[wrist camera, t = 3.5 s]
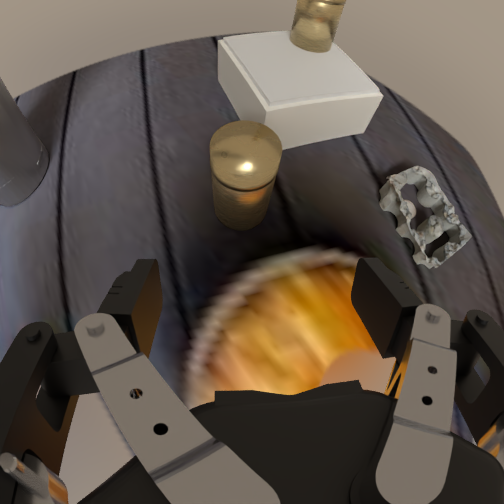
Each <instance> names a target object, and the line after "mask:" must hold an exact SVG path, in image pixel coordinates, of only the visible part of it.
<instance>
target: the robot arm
mask: <svg viewBox="0 0 504 504" xmlns="http://www.w3.org/2000/svg"><path fill="white" fill-rule="evenodd" d="M48 161H49V156H48V152H47V150H46V148H45V147H44V145H43V144H42V142H41V140H40V139H39V138H38V137H37V135H36V134H35V132H34V131H33V129H32V128H31V126H30V125H29V123H28V121H27V120H26V118H25V117H24V115H23V114H22V112H21V111H20V109H19V107H18V106H17V104H16V103H15V101H14V99H13V98H12V96H11V95H10V93H9V91H8V90H7V88H6V86H5V84H4V83H3V81H2V79H1V78H0V205H3V206H13V205H16V204H18V203H20V202H22V201H23V200H25V199H26V198H27V197H28V196H29V195H30V194H31V193H32V192H33V191H34V190H35V189H36V188H37V186H38V185H39V183H40V182H41V180H42V179H43V177H44V175H45V172H46V170H47V166H48ZM351 300H352V304H353V306H354V308H355V310H356V312H357V313H358V315H359V317H360V318H361V320H362V322H363V324H364V325H365V327H366V329H367V331H368V332H369V334H370V336H371V338H372V340H373V341H374V343H375V345H376V347H377V349H378V350H379V352H380V354H381V356H382V358H383V359H384V358H389V357H395V358H396V361H395V363H394V365H393V368H392V371H391V374H390V377H389V380H388V383H387V386H386V389H385V392H384V394H383V393H380V392H375V391H370V390H363V389H362V387H361V385H360V383H359V380H354V381H347V382H340V383H333V384H326V385H323V386H320V387H317V388H314V389H311V390H308V391H305V392H302V393H299V394H295V395H283V394H275V393H268V392H261V391H254V390H243V391H215V401H214V402H209V403H206V404H203V405H199V406H197V407H195V408H192V409H190V410H188V409H187V408H186V406H185V405H184V404H183V403H182V402H181V401H180V399H179V398H178V397H177V396H176V394H175V393H174V392H173V391H172V390H171V388H170V387H169V386H168V385H167V383H166V382H165V381H164V379H163V378H162V377H161V376H160V374H159V373H158V372H157V370H156V369H155V368H154V366H153V365H152V364H151V362H150V361H149V360H148V358H149V354H150V350H151V346H152V343H153V339H154V335H155V331H156V328H157V324H158V321H159V317H160V313H161V310H162V301H163V299H162V289H161V282H160V275H159V267H158V262H157V260H156V259H138V260H137V261H136V263H135V265H134V266H133V268H132V270H131V272H124V273H123V274H121V275H120V276H119V277H117V278H116V280H115V281H114V283H113V285H112V288H110V290H109V292H108V294H107V295H106V297H105V299H104V301H103V302H102V304H101V306H100V308H99V310H98V311H97V313H96V314H91V315H88V316H86V317H84V318H83V319H81V320H80V321H79V322H78V323H77V324H76V326H75V330H74V331H72V332H66V333H59V334H54V333H53V330H52V328H51V326H50V325H49V324H48V323H45V322H34V323H31V324H29V325H27V326H25V327H24V328H22V329H21V330H20V332H19V333H18V334H17V336H16V338H15V339H14V341H13V343H12V344H11V346H10V348H9V349H8V351H7V353H6V354H5V356H4V358H3V360H2V361H1V363H0V504H68V492H67V488H66V486H65V484H64V482H63V481H62V480H61V479H60V478H59V472H60V467H61V463H62V458H63V453H64V449H65V444H66V441H67V437H68V433H69V429H70V425H71V422H72V418H73V415H74V411H75V408H76V404H77V401H78V398H79V395H82V394H89V393H97V392H101V394H102V396H103V398H104V400H105V402H106V404H107V406H108V408H109V410H110V412H111V414H112V415H113V417H114V419H115V421H116V423H117V424H118V426H119V428H120V430H121V431H122V433H123V435H124V436H125V438H126V440H127V441H128V443H129V445H130V446H131V448H132V449H133V451H134V453H135V454H136V455H135V456H134V457H133V458H132V459H131V460H130V461H129V462H127V463H126V464H125V465H124V466H123V467H122V468H120V469H119V470H118V471H117V472H116V473H114V474H113V475H112V476H111V477H110V478H108V479H107V480H106V481H105V482H104V483H102V484H101V485H100V486H99V487H97V488H96V489H95V490H94V491H92V492H91V493H90V494H88V495H87V496H86V497H85V498H83V499H82V500H81V501H79V502H78V503H77V504H504V331H503V330H502V329H501V328H500V326H499V325H498V324H497V323H496V322H495V321H494V320H493V318H492V317H491V316H489V315H488V314H487V313H485V312H483V311H480V310H470V311H468V312H467V314H466V317H465V319H464V321H457V320H450V316H449V315H448V313H447V312H446V311H445V310H443V309H442V308H440V307H438V306H435V305H432V304H423V303H422V302H421V300H420V299H419V298H418V297H417V296H416V295H415V294H414V292H413V291H412V290H411V289H409V287H408V286H407V284H406V283H404V281H403V280H402V279H401V278H400V277H399V276H398V275H397V274H396V273H394V272H392V271H391V270H389V269H387V267H386V266H385V265H384V264H383V263H382V262H381V261H380V260H379V259H378V258H360V259H359V261H358V263H357V267H356V272H355V277H354V282H353V286H352V291H351ZM480 356H481V357H482V358H483V360H484V361H485V363H486V364H487V366H488V367H489V369H490V380H489V382H488V383H487V385H486V386H485V385H484V383H483V382H482V380H481V379H480V377H479V375H478V374H477V372H476V371H475V369H474V366H475V365H476V363H477V361H478V360H479V358H480ZM40 385H41V388H40V390H39V393H38V395H37V398H36V394H37V392H38V389H39V387H40ZM454 400H455V402H456V404H457V406H458V408H459V410H460V412H461V414H462V416H463V417H464V419H465V421H466V423H467V425H468V427H469V430H470V432H471V434H472V436H473V438H474V440H475V442H476V444H477V446H476V445H474V444H472V443H470V442H469V441H467V440H465V439H463V438H461V437H460V436H458V435H456V434H454V433H452V432H451V431H450V425H451V418H452V410H453V401H454Z"/></svg>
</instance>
